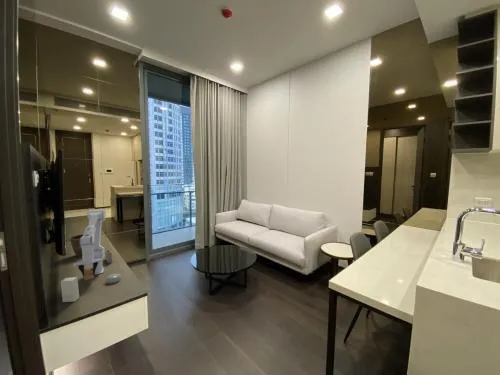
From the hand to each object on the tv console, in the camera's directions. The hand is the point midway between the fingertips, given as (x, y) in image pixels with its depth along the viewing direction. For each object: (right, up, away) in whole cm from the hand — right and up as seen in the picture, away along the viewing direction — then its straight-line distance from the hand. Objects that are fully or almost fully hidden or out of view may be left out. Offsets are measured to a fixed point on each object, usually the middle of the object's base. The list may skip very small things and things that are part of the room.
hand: (89, 275), depth 137 cm
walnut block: (0, -2, 0) cm, 2 cm away
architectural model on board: (-10, -3, +34) cm, 36 cm away
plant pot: (-40, -2, +46) cm, 62 cm away
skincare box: (+4, -6, -19) cm, 20 cm away
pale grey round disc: (+14, -5, +3) cm, 15 cm away
